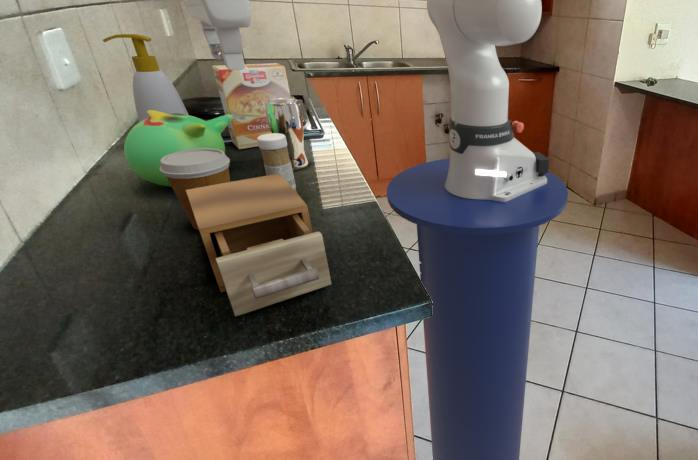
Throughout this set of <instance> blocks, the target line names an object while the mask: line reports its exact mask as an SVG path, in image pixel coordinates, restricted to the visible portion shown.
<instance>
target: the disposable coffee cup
mask: <svg viewBox="0 0 698 460" xmlns="http://www.w3.org/2000/svg"><path fill="white" fill-rule="evenodd" d="M230 163H231V159H230V157H228V156H227V155H226V152H225V153H224V152H223V151H222V150H219V149H211V148H202V149H190V150H184V151H179V152H175V153H172V154H169V155H166V156H164V157H163V158H162V159H161V166H160V168H159V169H160V171H161V172H162V173H163V174H164V175H165V176H166V177H167V179H168V181H169V182H170V184H171V186H170V188H172V191H173V192H174V194H175V196H176V198H177V200H178V201H179V204H180V205H181V207H182V209H183V211H184V212H185V215H186V216H187V218H188V220H189V222H190V224H191V226H192V227H193V229H195V230H198V231H199V228H198V225H197V222H196V219H195V216H194V213H193V210H192V207H191V204H190V201H189V198H188V195H187V193H186V190H187V189H193V188H199V187H205V186H210V185H216V184H222V183H227V182H231V176H230V169H229V167H230Z"/></svg>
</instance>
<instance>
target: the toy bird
mask: <svg viewBox="0 0 698 460" xmlns="http://www.w3.org/2000/svg"><path fill="white" fill-rule="evenodd" d="M147 113H148V114H149V116H150V117H149V118H147V119H145V120H143V121H141V122H139V121H138V122H137V123H136V124H135V125H133V127H132V128H131V129H130V131H129V132H128V133H127V135H126V137H125V139H124V144H123V154H124V158H125V161H126V164H127V165H128V167H129V168H130V170H132V171H133V172H134V174H136V175H137V176H138V177H140V178H141V179H143V180H145V181H147V182H149V183H152V184H155V185H159V186H163V187H171V184H170V182H169V181H168V179H167V177H166V176H165V175H164V174H163V173H162V172H161V171H160V169H159V168H160V166H161V159H162V158H163V157H164V156H166V155H169V154H172V153H175V152H179V151H184V150H190V149H202V148H211V149H219V150H222V151H223V152H224V153H225V154H226V145H225V142H224V139H223V137H222V133H223V132H224V131H225V130H226V129H227V127H228V125H229V123H230V122H231V121H232V119H233V116H232V115H225V114H224V115H220V116H218V117H214V118H212V119H208V120H204V119H202V118H199V117H196V116H193V115H189V114H188V115H185V114H181V113H173V114H167V113H163V112H160V111H155V110H148V111H147Z"/></svg>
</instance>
